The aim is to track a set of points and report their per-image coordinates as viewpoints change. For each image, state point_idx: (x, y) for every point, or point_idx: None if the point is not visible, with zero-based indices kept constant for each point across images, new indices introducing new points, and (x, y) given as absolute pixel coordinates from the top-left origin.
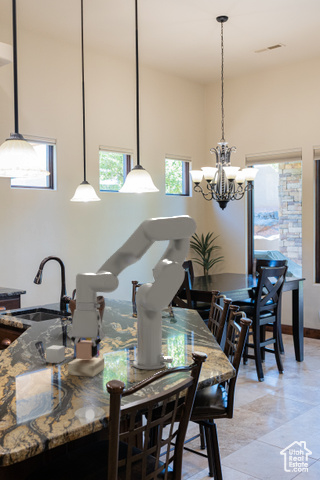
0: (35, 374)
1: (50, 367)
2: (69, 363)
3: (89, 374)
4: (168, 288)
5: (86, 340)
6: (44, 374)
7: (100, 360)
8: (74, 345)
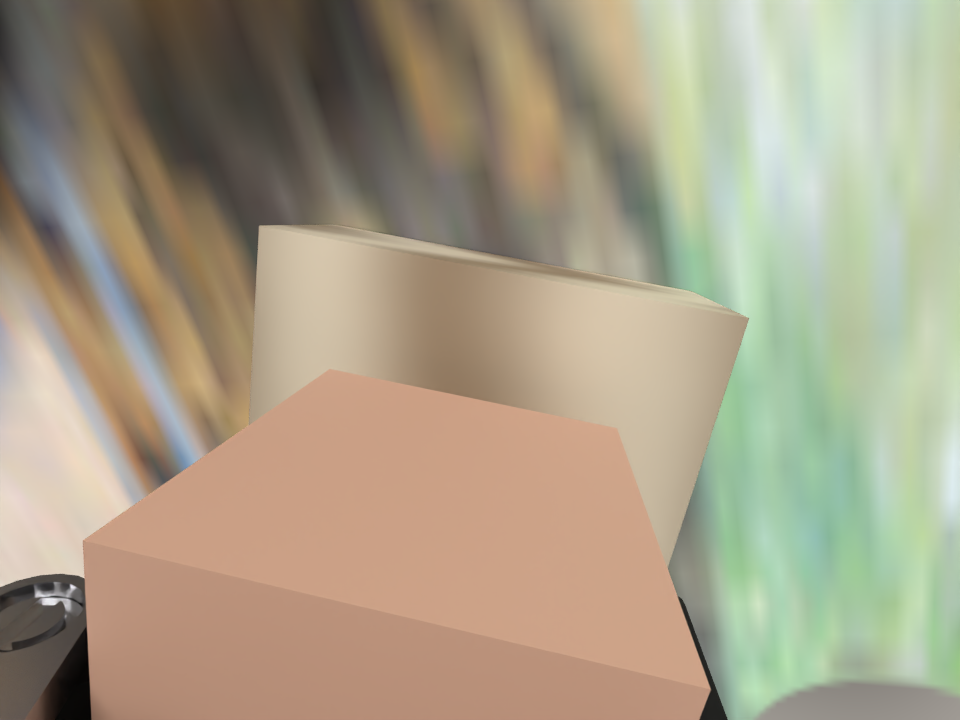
0: (5, 535)
1: (7, 288)
2: None
3: None
4: None
5: (253, 594)
6: (84, 533)
7: (693, 461)
8: None
